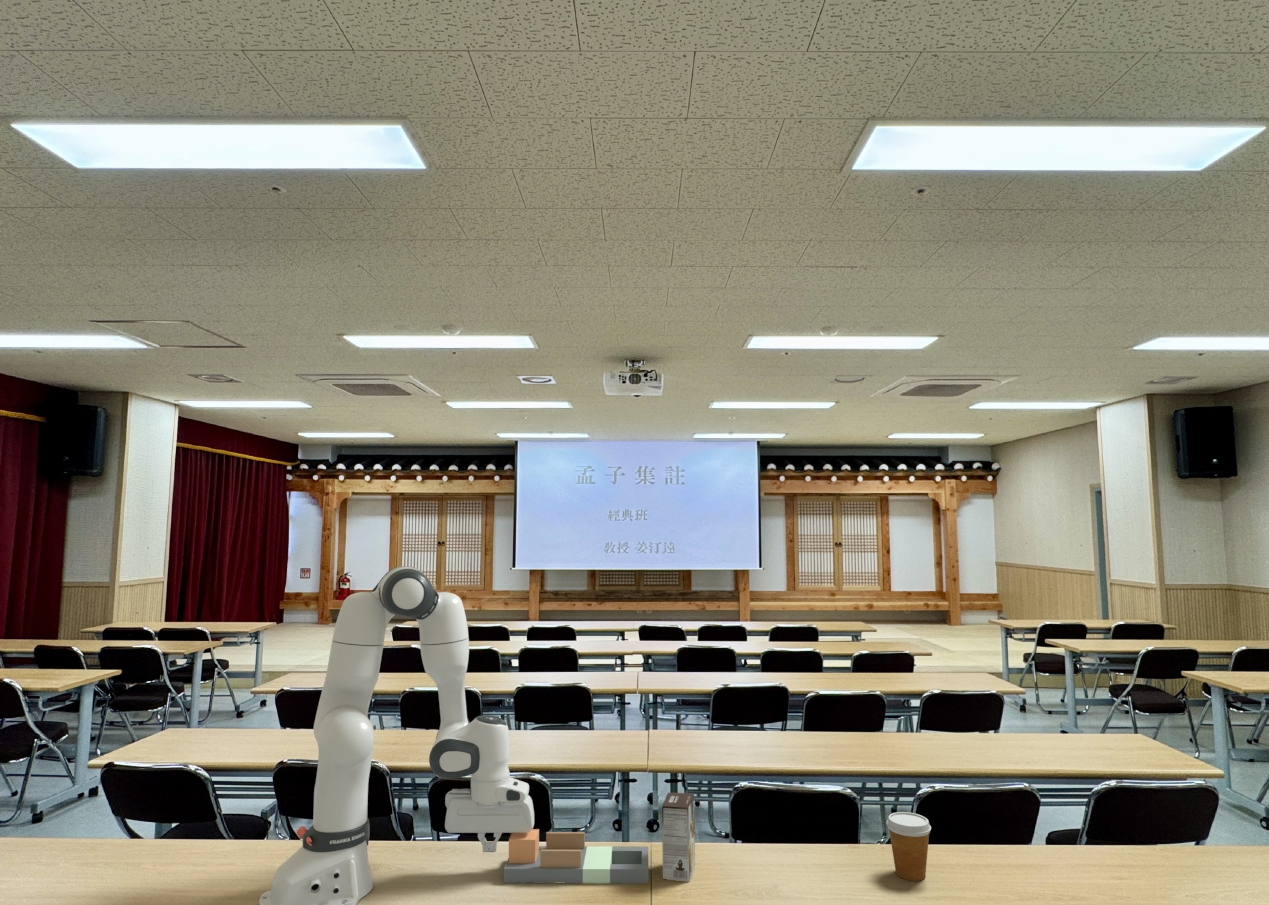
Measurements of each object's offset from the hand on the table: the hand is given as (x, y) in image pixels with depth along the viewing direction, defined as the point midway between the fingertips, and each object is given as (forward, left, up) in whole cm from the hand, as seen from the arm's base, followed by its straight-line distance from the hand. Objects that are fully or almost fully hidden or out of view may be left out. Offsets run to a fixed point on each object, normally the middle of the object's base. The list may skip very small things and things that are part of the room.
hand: (489, 851), depth 174 cm
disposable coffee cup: (+75, -59, -4) cm, 96 cm away
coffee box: (+34, -27, -4) cm, 44 cm away
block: (+6, -5, -1) cm, 8 cm away
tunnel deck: (+16, -12, -4) cm, 21 cm away
